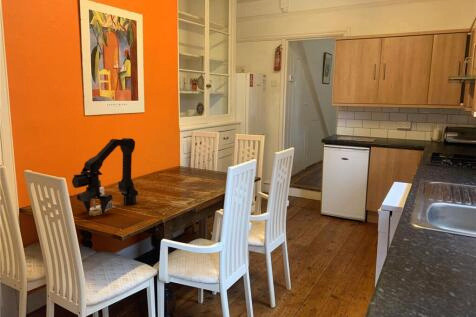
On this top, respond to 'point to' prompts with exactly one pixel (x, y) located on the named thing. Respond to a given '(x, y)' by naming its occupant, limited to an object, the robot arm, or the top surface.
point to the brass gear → (95, 212)
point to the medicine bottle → (101, 189)
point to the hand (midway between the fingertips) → (95, 212)
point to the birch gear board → (98, 206)
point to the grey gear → (108, 205)
